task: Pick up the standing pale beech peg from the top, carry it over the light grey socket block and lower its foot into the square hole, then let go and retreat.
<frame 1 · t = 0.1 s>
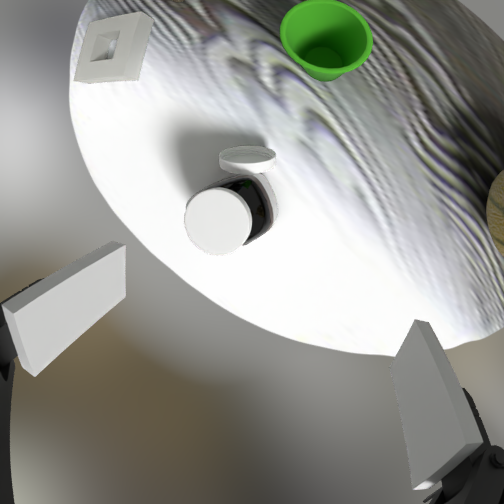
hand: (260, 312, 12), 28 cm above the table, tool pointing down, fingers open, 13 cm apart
cup: (323, 64, 31), on the table
socket block: (119, 51, 35), on the table
cantaloupe: (503, 204, 31), on the table
spread jar: (244, 188, 39), on the table
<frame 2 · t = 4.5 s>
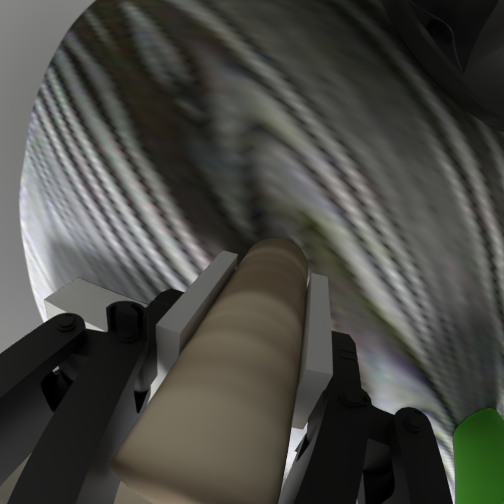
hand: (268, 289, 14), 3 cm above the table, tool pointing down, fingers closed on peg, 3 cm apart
cup: (474, 423, 18), on the table
socket block: (135, 355, 21), on the table
peg: (275, 268, 16), on the table, touching gripper
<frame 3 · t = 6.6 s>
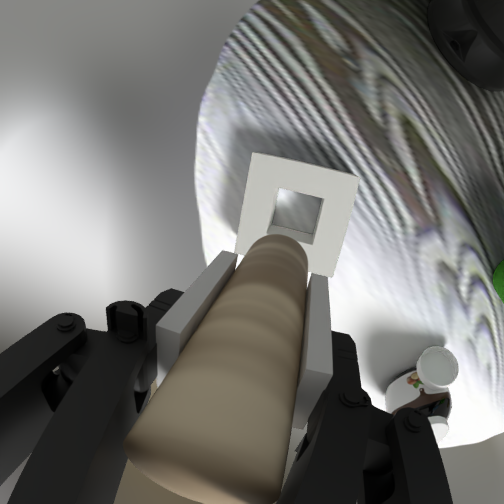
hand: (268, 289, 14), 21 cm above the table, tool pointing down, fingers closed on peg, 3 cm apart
socket block: (297, 209, 33), on the table
peg: (276, 264, 17), point 18 cm above the table, touching gripper
spread jar: (417, 372, 37), on the table
when the fingers open (5 cm above the table, at t = 8.7 s): peg drops 1 cm, resting in socket block.
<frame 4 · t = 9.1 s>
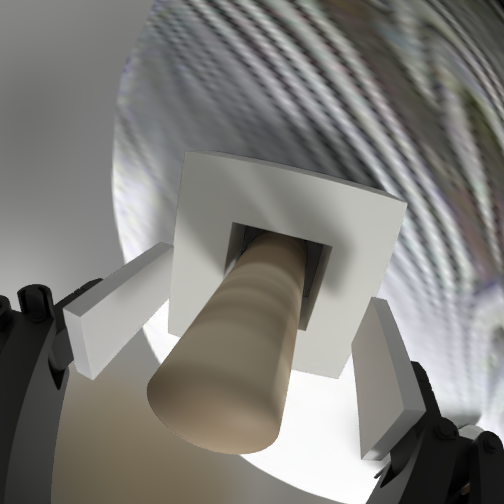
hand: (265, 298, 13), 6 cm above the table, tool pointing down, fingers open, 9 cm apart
socket block: (280, 253, 18), on the table
peg: (278, 253, 18), resting in socket block
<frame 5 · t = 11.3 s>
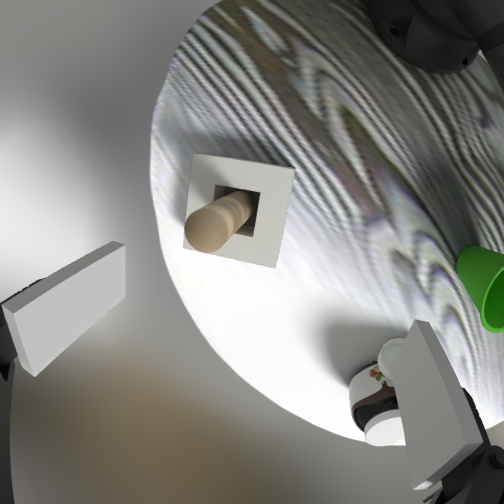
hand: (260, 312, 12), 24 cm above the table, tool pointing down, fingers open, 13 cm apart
cup: (469, 262, 32), on the table
socket block: (242, 204, 35), on the table
peg: (241, 204, 35), resting in socket block
spread jar: (382, 366, 39), on the table
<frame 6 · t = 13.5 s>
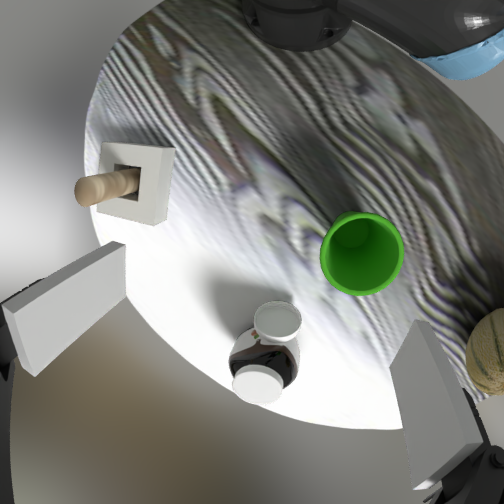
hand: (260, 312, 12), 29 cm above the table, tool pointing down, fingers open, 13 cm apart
cup: (350, 229, 38), on the table
socket block: (140, 179, 42), on the table
peg: (139, 178, 42), resting in socket block
cantaloupe: (486, 328, 38), on the table
spread jar: (272, 329, 46), on the table
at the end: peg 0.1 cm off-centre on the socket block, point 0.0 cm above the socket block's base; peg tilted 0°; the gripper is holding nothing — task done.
